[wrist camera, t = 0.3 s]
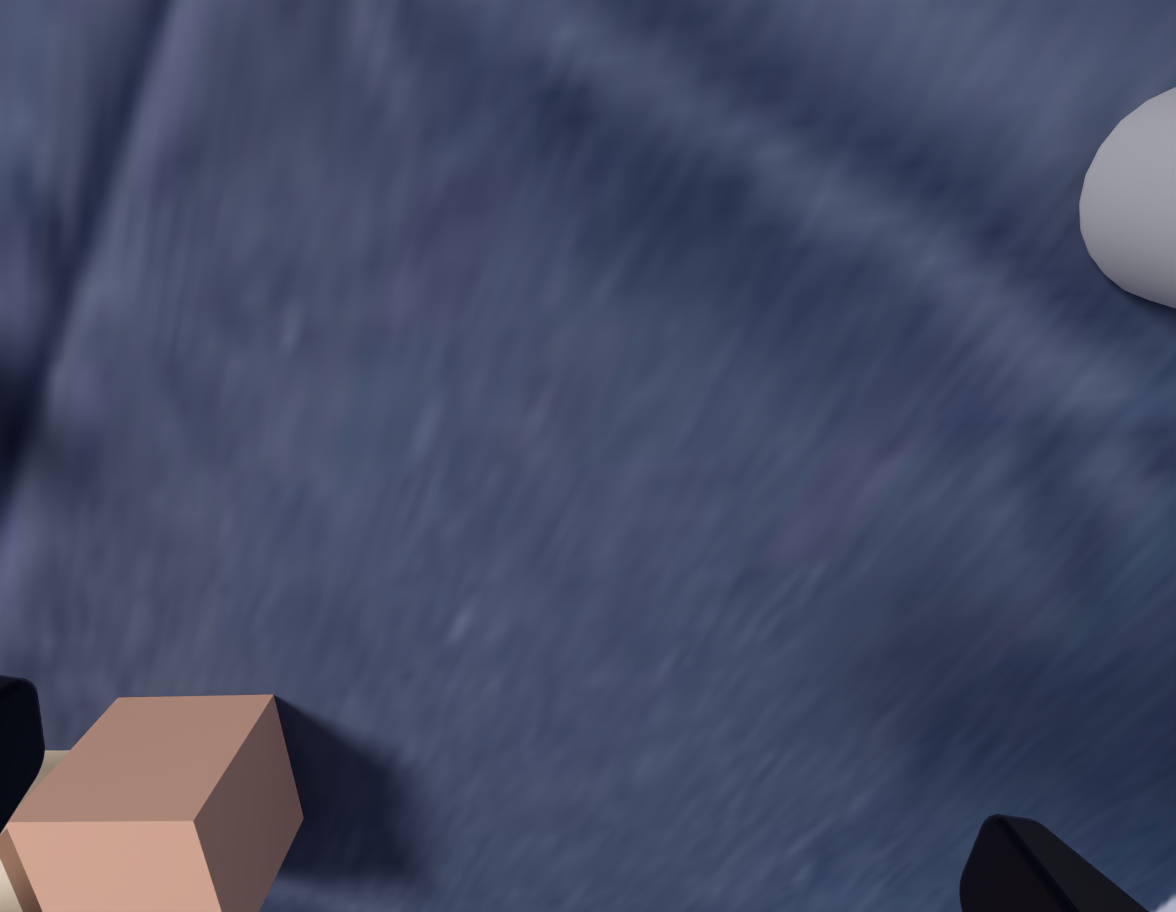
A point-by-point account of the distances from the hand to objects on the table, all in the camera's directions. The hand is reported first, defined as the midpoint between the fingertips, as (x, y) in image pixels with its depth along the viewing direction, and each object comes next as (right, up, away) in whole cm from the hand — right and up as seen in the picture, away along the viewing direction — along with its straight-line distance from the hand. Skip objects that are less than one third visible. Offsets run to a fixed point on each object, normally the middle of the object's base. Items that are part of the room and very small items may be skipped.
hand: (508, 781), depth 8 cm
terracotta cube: (-11, -7, +18) cm, 23 cm away
